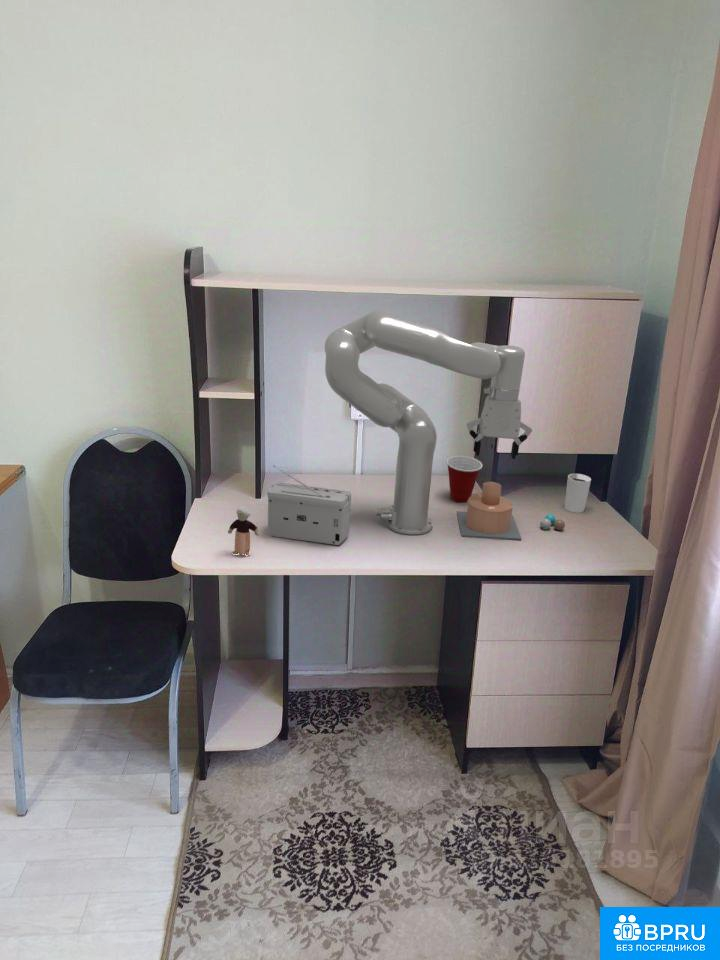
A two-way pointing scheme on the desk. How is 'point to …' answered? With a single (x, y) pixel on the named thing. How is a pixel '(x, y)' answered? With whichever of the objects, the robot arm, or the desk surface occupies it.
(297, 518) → the stereo radio cassette player
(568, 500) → the white cylinder
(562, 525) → the dark brown marble
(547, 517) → the teal marble
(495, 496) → the terracotta cover
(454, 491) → the plastic cup
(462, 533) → the slate mat
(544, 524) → the grey marble
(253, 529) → the grandmother figurine
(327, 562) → the desk surface
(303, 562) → the desk surface
